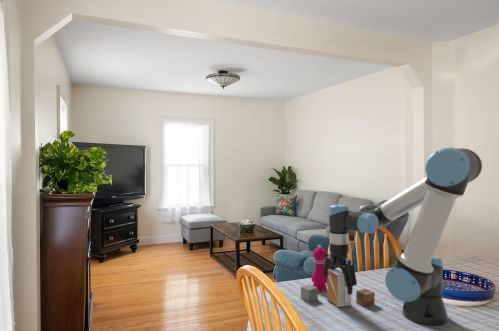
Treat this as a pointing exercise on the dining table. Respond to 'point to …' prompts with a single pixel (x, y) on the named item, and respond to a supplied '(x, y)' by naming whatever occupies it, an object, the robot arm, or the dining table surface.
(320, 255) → the pepper mill
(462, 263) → the dining table surface
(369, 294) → the walnut block
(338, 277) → the small box
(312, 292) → the charcoal block
